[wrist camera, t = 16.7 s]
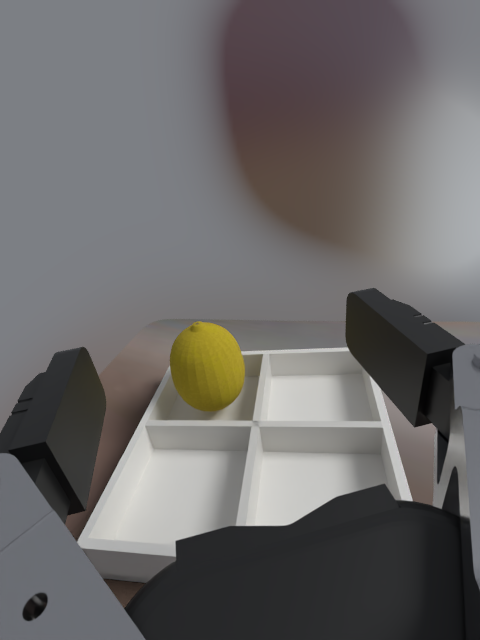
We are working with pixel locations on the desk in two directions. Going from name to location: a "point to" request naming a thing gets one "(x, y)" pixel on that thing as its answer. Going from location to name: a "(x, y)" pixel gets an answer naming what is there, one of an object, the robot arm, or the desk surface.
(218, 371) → the lemon
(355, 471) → the divided tray
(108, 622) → the robot arm
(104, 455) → the desk surface
